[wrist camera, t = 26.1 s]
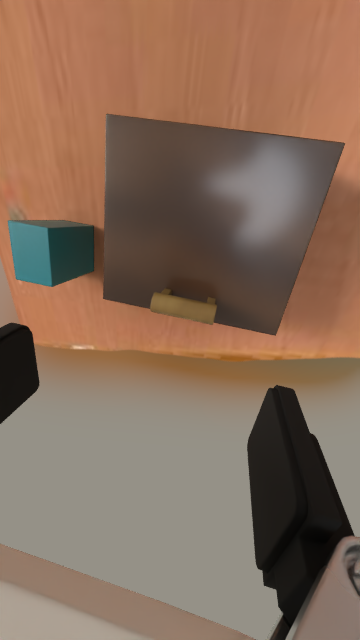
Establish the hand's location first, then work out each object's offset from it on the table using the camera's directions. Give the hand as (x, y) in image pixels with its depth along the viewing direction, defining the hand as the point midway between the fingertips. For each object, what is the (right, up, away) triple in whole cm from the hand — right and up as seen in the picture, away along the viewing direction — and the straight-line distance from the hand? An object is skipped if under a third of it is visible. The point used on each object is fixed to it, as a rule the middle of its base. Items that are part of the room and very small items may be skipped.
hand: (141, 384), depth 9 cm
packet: (-11, +12, +20) cm, 26 cm away
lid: (+3, +10, +11) cm, 15 cm away
